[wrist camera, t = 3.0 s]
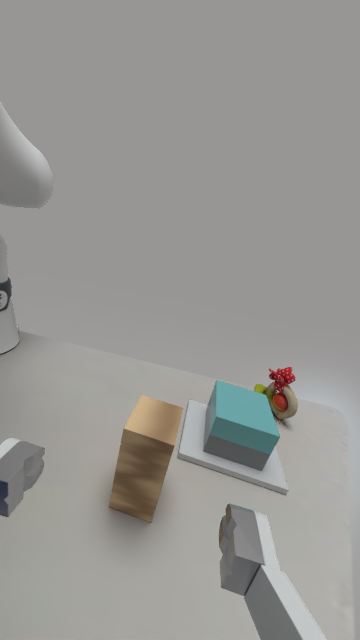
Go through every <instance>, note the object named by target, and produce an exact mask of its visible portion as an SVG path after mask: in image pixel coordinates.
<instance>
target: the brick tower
mask: <svg viewBox="0 0 360 640" xmlns="http://www.w3.org/2000/svg"><path fill="white" fill-rule="evenodd" d="M279 438H280V435H279V432H278V429H277V426H276V423H275V420H274V417H273V414H272V411H271V408H270V405H269V402H268V399H267V396H266V395H264V394H261V393H258V392H254V391H251V390H248V389H244V388H241V387H238V386H235V385H231V384H228V383H225V382H222V381H218V380H217V381H216V383H215V386H214V389H213V392H212V395H211V398H210V400H209V403H208V405H206V404H203V403H200V402H196V401H193V400H189V403H188V407H187V413H186V418H185V423H184V428H183V433H182V438H181V443H180V448H179V453H178V458H180V459H183V460H186V461H189V462H192V463H195V464H198V465H201V466H204V467H207V468H210V469H213V470H215V471H218V472H221V473H224V474H227V475H230V476H233V477H236V478H239V479H242V480H245V481H248V482H250V483H253V484H256V485H259V486H262V487H265V488H268V489H271V490H274V491H277V492H280V493H283V494H285V495H286V494H287V492H288V486H287V483H286V479H285V476H284V473H283V469H282V466H281V462H280V459H279V456H278V452H277V449H276V444H277V442H278V440H279Z"/></svg>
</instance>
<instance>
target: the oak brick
mask: <svg viewBox="0 0 360 640" xmlns="http://www.w3.org/2000/svg"><path fill="white" fill-rule="evenodd" d="M182 410H183V408H181V407H178V406H175V405H172V404H169V403H166V402H163V401H159V400H156V399H153V398H150V397H147V396H144V395H141V397H140V399H139V401H138V403H137V405H136V406H135V408H134V410H133V412H132V414H131V416H130V418H129V419H128V421H127V423H126V425H125V427H124V429H123V435H122V440H121V445H120V451H119V456H118V461H117V467H116V472H115V477H114V482H113V488H112V493H111V498H110V504H109V507H110V508H113V509H115V510H118V511H121V512H123V513H126V514H129V515H131V516H134V517H137V518H139V519H142V520H145V521H147V522H150V523H151V520H152V517H153V514H154V510H155V507H156V504H157V501H158V497H159V494H160V491H161V488H162V484H163V481H164V478H165V475H166V471H167V468H168V465H169V462H170V458H171V455H172V452H173V449H174V445H175V441H176V437H177V432H178V428H179V423H180V419H181V415H182Z"/></svg>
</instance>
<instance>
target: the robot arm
mask: <svg viewBox="0 0 360 640" xmlns="http://www.w3.org/2000/svg"><path fill="white" fill-rule="evenodd" d="M52 191H53V177H52V172H51V169H50V167H49V165H48V163H47V161H46V159H45V158H44V156H43V155H42V153H41V152H40V151H39V150H38V149H37V148H35V147H34V146H33V145H32V144H31V143H30V142H29V141H28V140H27V139H26V138H25V137H24V135H23V134H22V133H21V132H20V130H19V129H18V128H17V127H16V125H15V124H14V122H13V121H12V120H11V118H10V117H9V115H8V113H7V112H6V110H5V108H4V107H3V105H2V103H1V101H0V204H3V205H7V206H12V207H24V208H41V207H42V206H44V205H45V204H46V203H47V202H48V201H49V199H50V197H51V195H52ZM11 288H12V285H11V281H10V279H9V278H8V270H7V246H6V243H5V241H4V239H3V237H2V236H1V235H0V354H2V353H4V352H6V351H9V350H10V349H12V348H14V347H15V346H16V345H17V344H18V343H19V341H20V337H19V335H18V331H19V325H18V324H16V321H15V315H14V309H13V304H12V300H11V299H10V297H11ZM44 454H45V448H43V447H40V446H37V445H34V444H31V443H28V442H25V441H22V440H19V439H15V438H12V437H11V438H9V439H7V440H5V441H4V442H3V443H2V444H1V445H0V515H2V516H5V517H9V516H10V514H11V513H12V512H13V511H14V509H15V508H16V507H17V506H18V504H19V503H20V502H21V501H22V499H23V495H24V492H25V491H26V490H28V489H30V488H32V487H33V485H34V484H35V483H36V481H37V480H38V478H39V476H40V475H41V473H42V470H43V467H44V461H43V459H42V456H43V455H44ZM219 547H220V549H221V552H222V554H223V556H222V558H221V561H220V576H221V588H223V589H226V590H229V591H231V592H234V593H237V594H239V595H242V596H245V597H244V599H245V602H246V604H247V607H248V609H249V611H250V614H251V616H252V619H253V621H254V624H255V626H256V629H257V631H258V634H259V636H260V639H261V640H327V639H326V637H325V636H324V634H323V632H322V631H321V629H320V628H319V626H318V625H317V623H316V621H315V620H314V618H313V617H312V615H311V613H310V612H309V610H308V609H307V607H306V605H305V604H304V602H303V601H302V599H301V597H300V596H299V594H298V593H297V591H296V589H295V588H294V586H293V585H292V583H291V581H290V580H289V578H288V577H287V575H286V573H285V572H283V571H281V570H280V566H279V562H278V558H277V554H276V550H275V546H274V541H273V537H272V533H271V529H270V525H269V521H268V518H267V516H266V515H265V514H262V513H258V512H255V511H252V510H250V509H246V508H243V507H239V506H236V505H232V504H228V505H227V507H226V515H225V516H223V517H222V520H221V523H220V529H219Z"/></svg>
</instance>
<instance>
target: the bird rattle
mask: <svg viewBox="0 0 360 640" xmlns="http://www.w3.org/2000/svg"><path fill="white" fill-rule="evenodd" d="M269 370H270V372H271V374H270V375H269V377H270V379H272V380H275V382H273V383H271V384H270V385H269V386H268V387H265V386H263V385H261V384H257V385H256V386H255V388H254V389H255V392H258V393H261V394H264V395H266V396H267V399H268V402H269V405H270V407H271V409H272V410H273V412H274V413H275V414H276V416H277V418H278V419H279V420H282V419H284V418H290V417H292V416H294V415H295V413H296V412H297V407H298V404H297V399H296V397H295V394H294V392H293V391H292V390H291V388H290V387H289V385H288V384H290V383H292V382H293V381H295V376H294V375H293V374H292V373H291V372H292V368H291V367H288V368H285V369H278V370H277V372H274V371H273V370H271V369H269ZM276 390H278V391H279V393H277V394H276V392H277V391H276Z"/></svg>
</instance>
